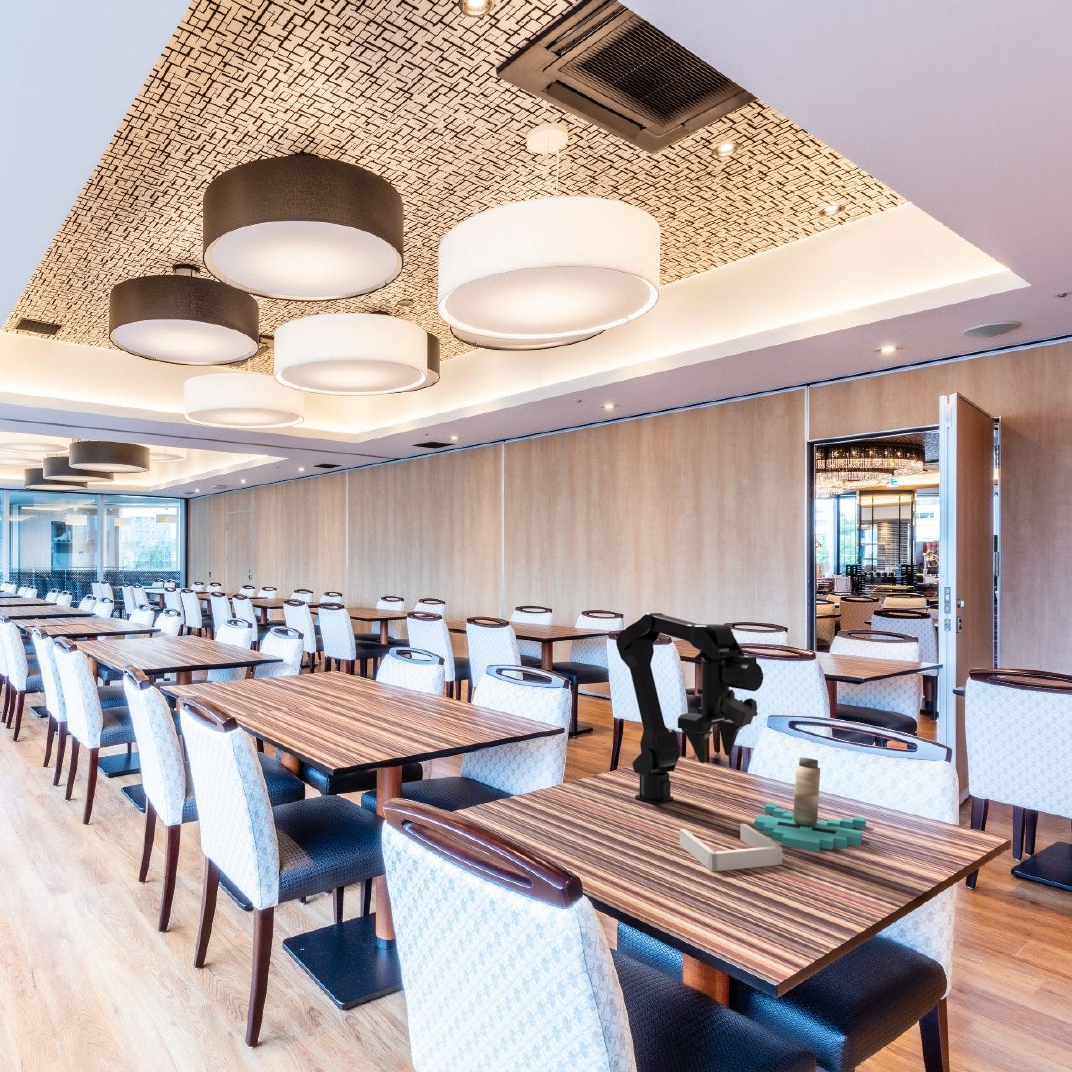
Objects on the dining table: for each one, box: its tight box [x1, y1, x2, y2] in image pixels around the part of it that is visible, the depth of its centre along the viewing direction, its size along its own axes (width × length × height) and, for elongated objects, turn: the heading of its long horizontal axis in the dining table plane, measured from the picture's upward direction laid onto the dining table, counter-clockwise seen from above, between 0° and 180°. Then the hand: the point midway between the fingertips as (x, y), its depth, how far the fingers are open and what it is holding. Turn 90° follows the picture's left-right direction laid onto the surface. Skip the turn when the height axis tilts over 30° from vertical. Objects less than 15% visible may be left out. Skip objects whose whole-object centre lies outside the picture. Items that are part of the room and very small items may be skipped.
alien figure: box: [753, 802, 867, 853], centre depth 154 cm, size 20×2×20 cm
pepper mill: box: [792, 757, 821, 825], centre depth 156 cm, size 5×5×12 cm
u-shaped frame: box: [679, 823, 783, 873], centre depth 142 cm, size 13×14×3 cm
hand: (715, 759), depth 160 cm, fingers open, 9 cm apart
